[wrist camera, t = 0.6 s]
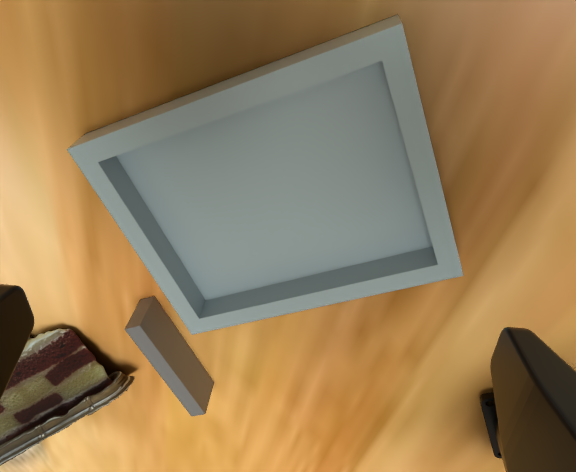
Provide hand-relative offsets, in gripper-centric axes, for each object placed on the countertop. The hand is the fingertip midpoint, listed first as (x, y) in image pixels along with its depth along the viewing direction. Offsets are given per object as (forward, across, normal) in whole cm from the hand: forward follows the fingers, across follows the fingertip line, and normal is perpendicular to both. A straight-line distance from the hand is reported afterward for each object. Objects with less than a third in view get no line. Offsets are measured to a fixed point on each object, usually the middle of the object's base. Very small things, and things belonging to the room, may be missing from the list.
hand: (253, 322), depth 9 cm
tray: (+15, +1, +5) cm, 16 cm away
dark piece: (+17, +14, +18) cm, 28 cm away
